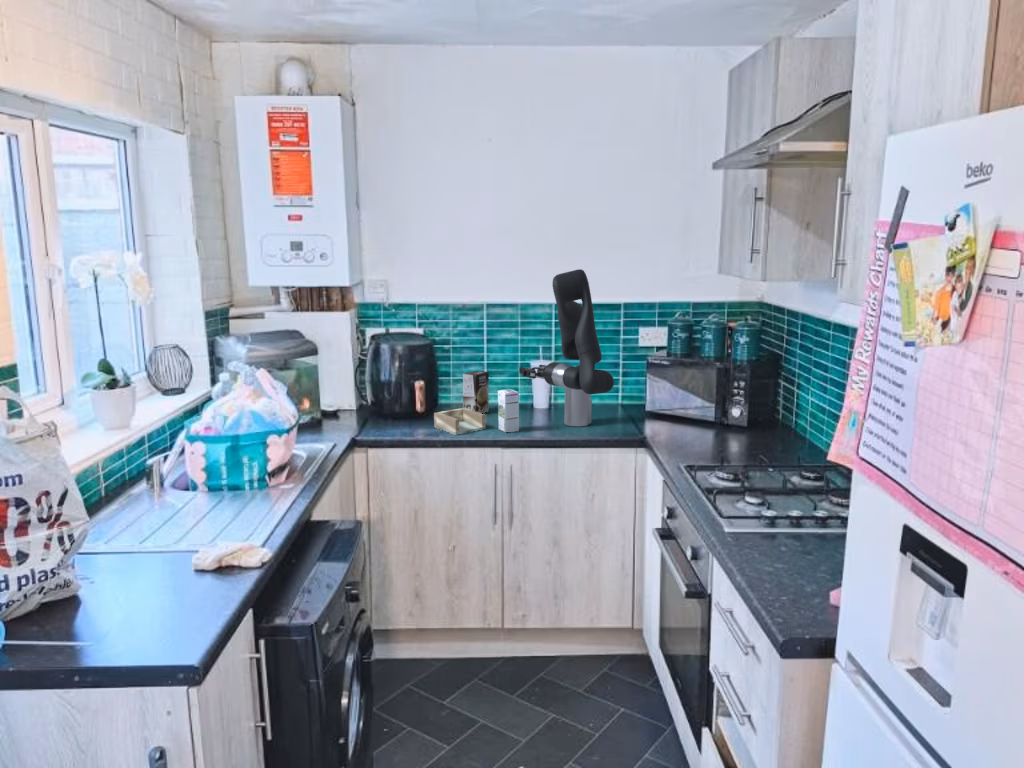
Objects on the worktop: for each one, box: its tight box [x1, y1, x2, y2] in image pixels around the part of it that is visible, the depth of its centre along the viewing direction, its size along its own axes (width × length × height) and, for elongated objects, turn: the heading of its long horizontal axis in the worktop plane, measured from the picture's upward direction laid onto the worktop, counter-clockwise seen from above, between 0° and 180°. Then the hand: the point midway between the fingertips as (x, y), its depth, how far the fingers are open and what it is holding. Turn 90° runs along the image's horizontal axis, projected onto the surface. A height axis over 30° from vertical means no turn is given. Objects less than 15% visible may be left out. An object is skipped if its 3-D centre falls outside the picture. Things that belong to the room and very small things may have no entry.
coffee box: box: [462, 370, 490, 414], centre depth 297 cm, size 9×6×16 cm
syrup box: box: [497, 388, 520, 434], centre depth 271 cm, size 6×6×14 cm
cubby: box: [433, 407, 487, 436], centre depth 275 cm, size 13×14×6 cm
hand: (530, 368), depth 259 cm, fingers open, 8 cm apart
